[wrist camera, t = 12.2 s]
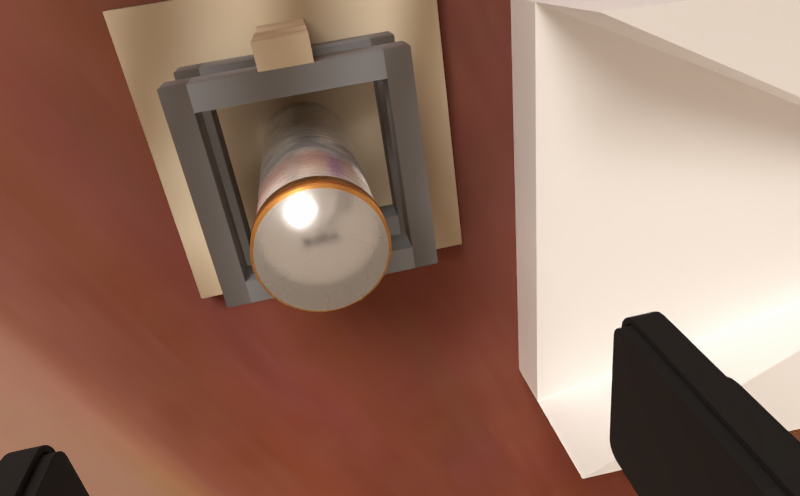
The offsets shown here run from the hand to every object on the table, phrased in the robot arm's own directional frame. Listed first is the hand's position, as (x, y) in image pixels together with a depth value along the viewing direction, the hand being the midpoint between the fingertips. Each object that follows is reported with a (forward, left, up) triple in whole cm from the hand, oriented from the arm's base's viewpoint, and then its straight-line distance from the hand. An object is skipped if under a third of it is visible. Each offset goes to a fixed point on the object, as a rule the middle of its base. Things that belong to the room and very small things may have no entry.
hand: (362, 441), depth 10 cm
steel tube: (0, 0, -20) cm, 20 cm away
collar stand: (0, 0, -21) cm, 21 cm away
